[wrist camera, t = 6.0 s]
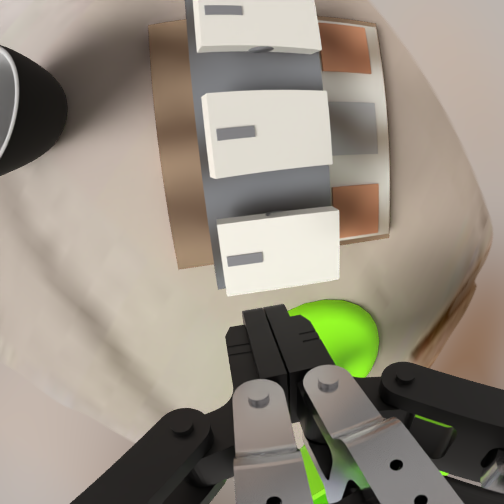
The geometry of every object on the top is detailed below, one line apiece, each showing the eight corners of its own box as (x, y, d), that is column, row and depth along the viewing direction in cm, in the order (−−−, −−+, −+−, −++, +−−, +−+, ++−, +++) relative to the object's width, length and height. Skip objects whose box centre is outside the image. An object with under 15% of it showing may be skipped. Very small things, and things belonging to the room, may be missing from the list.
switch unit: (150, 31, 20) (136, 0, 14) (367, 27, 22) (407, 7, 16) (179, 262, 27) (174, 298, 21) (381, 233, 29) (420, 256, 23)
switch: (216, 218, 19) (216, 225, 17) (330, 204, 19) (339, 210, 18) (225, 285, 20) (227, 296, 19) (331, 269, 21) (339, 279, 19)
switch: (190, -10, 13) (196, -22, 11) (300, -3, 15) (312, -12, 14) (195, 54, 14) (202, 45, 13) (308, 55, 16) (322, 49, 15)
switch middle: (200, 98, 15) (206, 92, 14) (313, 93, 17) (327, 90, 16) (208, 176, 17) (216, 179, 15) (319, 162, 19) (333, 164, 18)
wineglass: (353, 270, 30) (476, 390, 13) (391, 365, 36) (466, 466, 19) (213, 351, 31) (234, 518, 14) (282, 426, 36) (321, 545, 20)
